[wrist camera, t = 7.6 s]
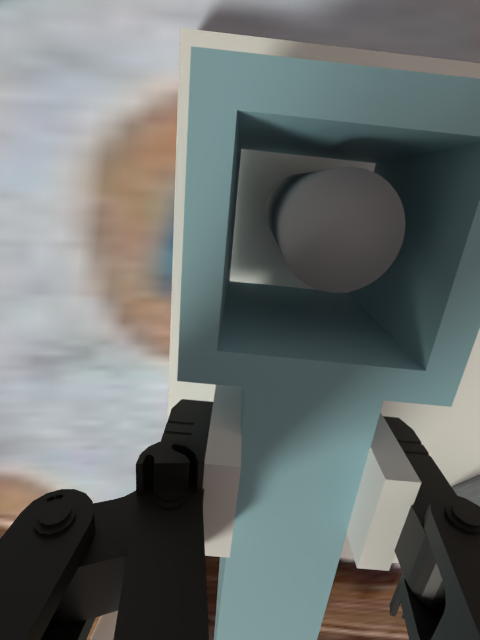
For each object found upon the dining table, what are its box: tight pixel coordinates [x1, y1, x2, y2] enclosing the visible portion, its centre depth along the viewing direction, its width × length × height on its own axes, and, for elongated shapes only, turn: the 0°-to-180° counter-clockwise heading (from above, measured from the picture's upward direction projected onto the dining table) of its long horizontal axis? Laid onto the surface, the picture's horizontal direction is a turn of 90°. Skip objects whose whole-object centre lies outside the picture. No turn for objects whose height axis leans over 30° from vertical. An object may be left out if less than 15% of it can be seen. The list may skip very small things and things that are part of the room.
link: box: [177, 46, 480, 640], centre depth 11 cm, size 17×6×6 cm, turn 174°
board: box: [168, 28, 480, 563], centre depth 13 cm, size 23×17×8 cm
